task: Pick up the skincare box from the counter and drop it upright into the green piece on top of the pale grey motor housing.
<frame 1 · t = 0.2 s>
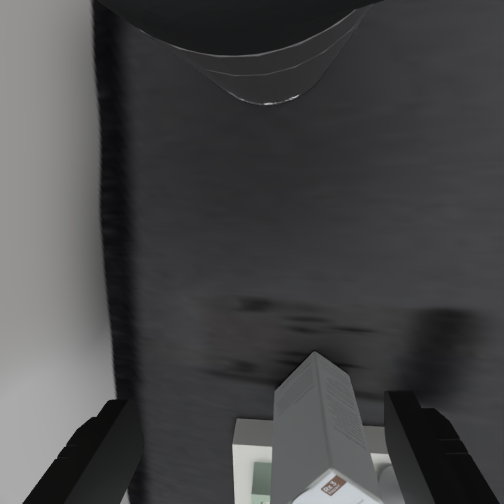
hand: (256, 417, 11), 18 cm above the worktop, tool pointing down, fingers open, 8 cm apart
skincare box: (310, 378, 32), on the worktop
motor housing: (325, 476, 36), on the worktop
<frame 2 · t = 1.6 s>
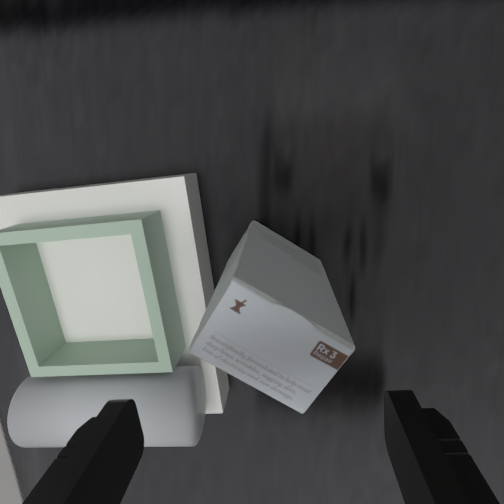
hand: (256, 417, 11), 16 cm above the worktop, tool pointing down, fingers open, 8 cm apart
green piece: (105, 287, 24), resting on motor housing
skincare box: (276, 260, 26), on the worktop
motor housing: (129, 295, 28), on the worktop
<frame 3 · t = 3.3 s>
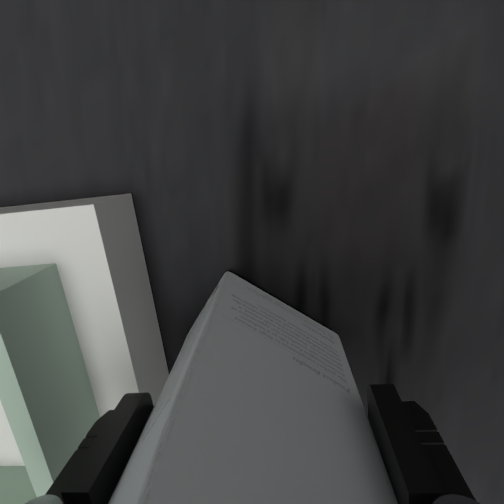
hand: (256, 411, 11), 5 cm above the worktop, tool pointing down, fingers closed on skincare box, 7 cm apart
skincare box: (265, 331, 16), on the worktop, touching gripper
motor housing: (39, 381, 18), on the worktop
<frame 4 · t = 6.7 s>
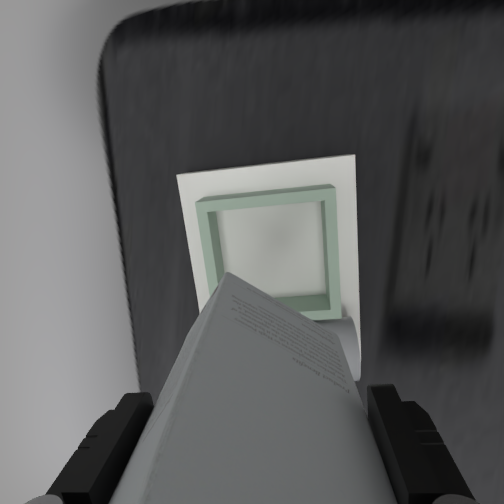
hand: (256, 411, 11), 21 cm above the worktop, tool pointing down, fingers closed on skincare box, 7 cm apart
green piece: (271, 250, 29), resting on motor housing
skincare box: (265, 332, 16), point 16 cm above the worktop, touching gripper
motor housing: (274, 262, 32), on the worktop
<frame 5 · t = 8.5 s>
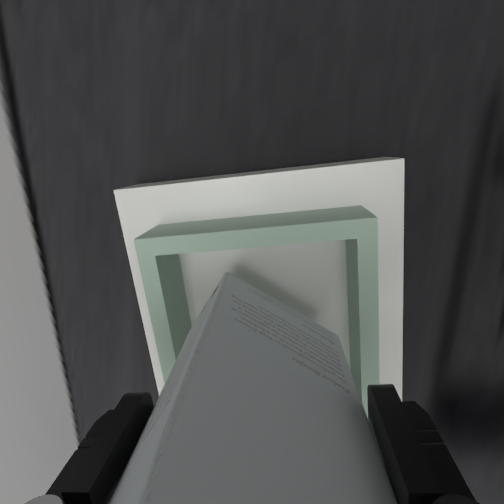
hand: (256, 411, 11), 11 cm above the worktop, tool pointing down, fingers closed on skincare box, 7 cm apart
green piece: (266, 308, 18), resting on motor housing
skincare box: (265, 332, 16), point 5 cm above the worktop, touching gripper
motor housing: (271, 316, 22), on the worktop
when the fingers open (9 cm above the worktop, at t = 9.9 s): skincare box drops 1 cm, resting on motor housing.
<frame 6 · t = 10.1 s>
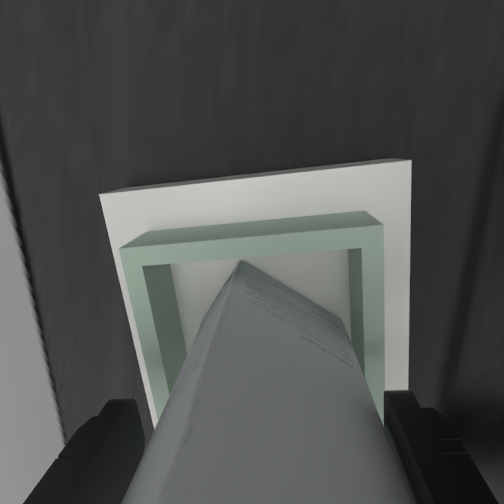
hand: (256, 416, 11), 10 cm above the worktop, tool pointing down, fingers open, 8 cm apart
green piece: (263, 320, 17), resting on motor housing
skincare box: (274, 317, 17), point 3 cm above the worktop, touching gripper, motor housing
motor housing: (269, 326, 21), on the worktop
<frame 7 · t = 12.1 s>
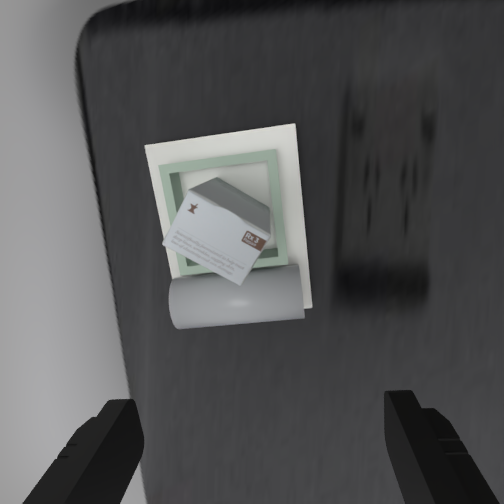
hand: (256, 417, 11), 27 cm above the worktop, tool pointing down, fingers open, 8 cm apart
green piece: (229, 210, 33), resting on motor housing
skincare box: (235, 209, 33), point 3 cm above the worktop, touching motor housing
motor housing: (236, 224, 37), on the worktop
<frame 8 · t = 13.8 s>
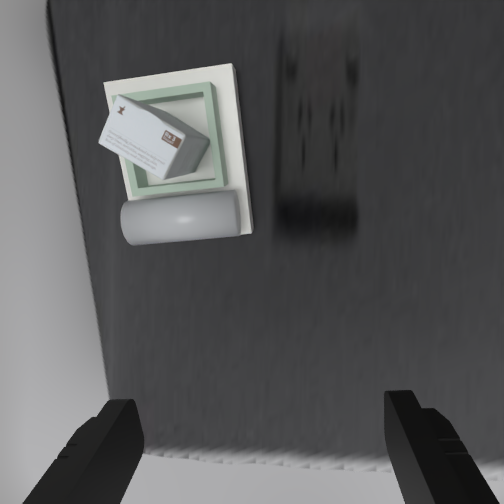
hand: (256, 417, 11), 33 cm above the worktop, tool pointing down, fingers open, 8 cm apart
green piece: (177, 142, 38), resting on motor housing
skincare box: (183, 142, 38), point 3 cm above the worktop, touching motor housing
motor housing: (187, 160, 42), on the worktop
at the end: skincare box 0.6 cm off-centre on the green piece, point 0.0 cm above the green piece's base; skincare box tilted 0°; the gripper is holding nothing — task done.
